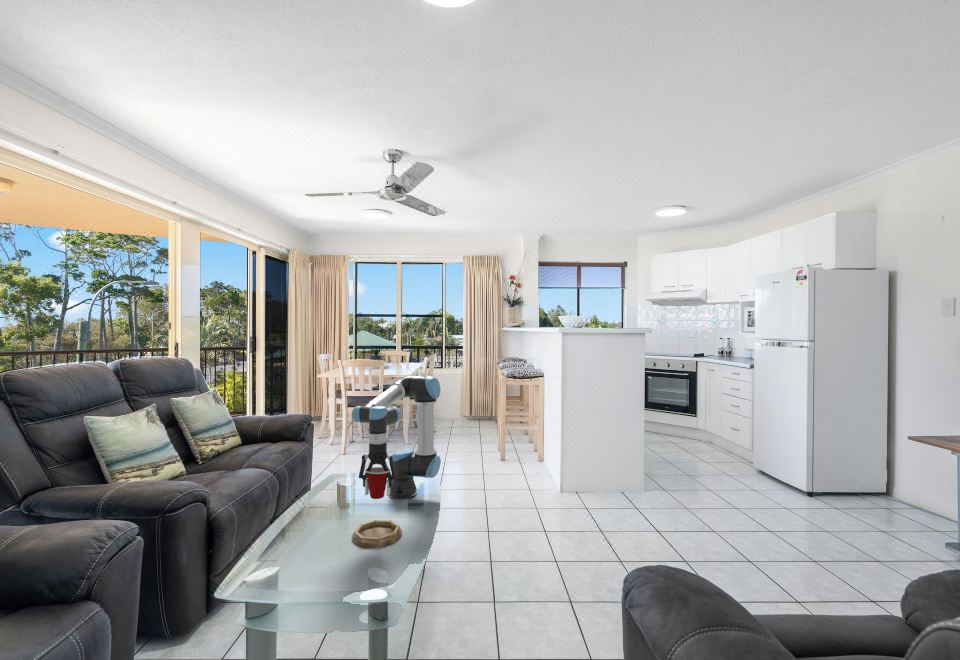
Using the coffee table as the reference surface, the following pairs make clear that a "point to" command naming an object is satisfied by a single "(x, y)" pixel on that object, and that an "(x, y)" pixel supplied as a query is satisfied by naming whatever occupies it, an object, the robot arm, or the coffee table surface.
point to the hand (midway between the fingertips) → (377, 494)
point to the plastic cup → (377, 482)
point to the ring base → (377, 533)
